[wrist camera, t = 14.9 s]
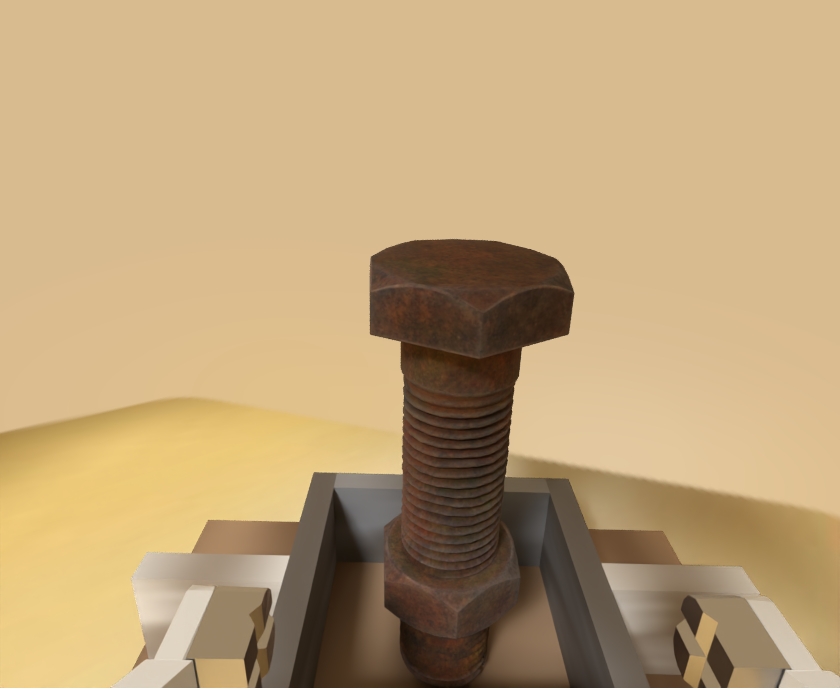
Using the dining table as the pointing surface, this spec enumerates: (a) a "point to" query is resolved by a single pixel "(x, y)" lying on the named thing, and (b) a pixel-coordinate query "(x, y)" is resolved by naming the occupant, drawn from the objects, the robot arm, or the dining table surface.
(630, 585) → the square frame on board
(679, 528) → the dining table surface
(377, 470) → the dining table surface
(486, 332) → the bolt
